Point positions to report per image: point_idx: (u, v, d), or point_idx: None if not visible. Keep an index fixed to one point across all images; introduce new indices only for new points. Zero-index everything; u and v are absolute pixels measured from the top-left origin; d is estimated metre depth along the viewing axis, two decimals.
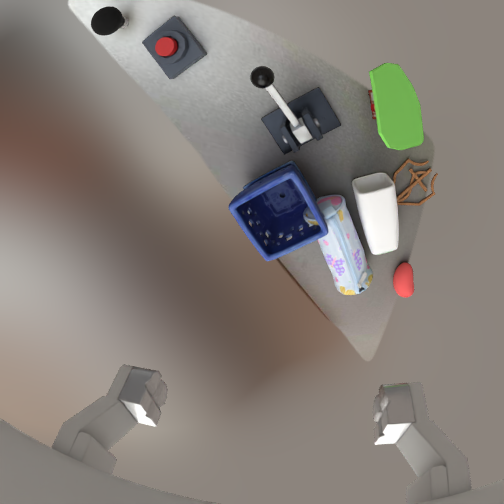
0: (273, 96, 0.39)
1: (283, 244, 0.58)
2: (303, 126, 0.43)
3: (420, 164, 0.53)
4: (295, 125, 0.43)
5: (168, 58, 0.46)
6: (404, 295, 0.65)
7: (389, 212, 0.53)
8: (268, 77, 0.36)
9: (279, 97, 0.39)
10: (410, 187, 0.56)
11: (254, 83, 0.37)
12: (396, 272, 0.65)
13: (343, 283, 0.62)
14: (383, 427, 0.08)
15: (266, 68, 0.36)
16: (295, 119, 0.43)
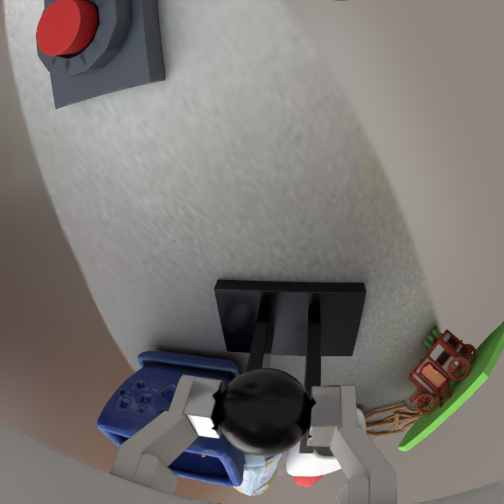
0: None
1: None
2: None
3: (413, 411, 0.33)
4: None
5: (60, 60, 0.13)
6: None
7: (336, 467, 0.31)
8: None
9: None
10: (381, 425, 0.36)
11: (224, 434, 0.09)
12: None
13: None
14: (309, 428, 0.09)
15: (299, 423, 0.09)
16: None
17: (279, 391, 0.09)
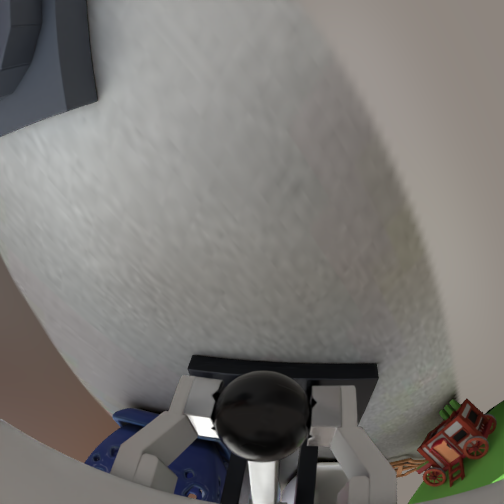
0: (254, 474, 0.10)
1: None
2: None
3: (419, 462, 0.27)
4: None
5: None
6: None
7: None
8: (283, 449, 0.08)
9: (269, 481, 0.10)
10: None
11: (218, 430, 0.08)
12: None
13: None
14: None
15: (301, 407, 0.08)
16: None
17: (281, 376, 0.09)
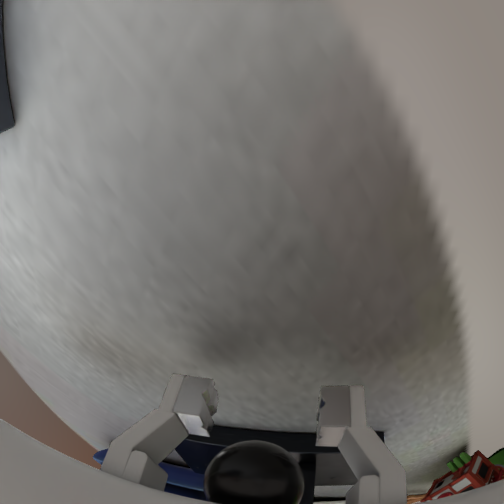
0: None
1: None
2: None
3: (420, 497, 0.23)
4: None
5: None
6: None
7: None
8: None
9: None
10: None
11: (207, 494, 0.07)
12: None
13: None
14: (318, 429, 0.09)
15: (293, 475, 0.07)
16: None
17: (274, 445, 0.08)
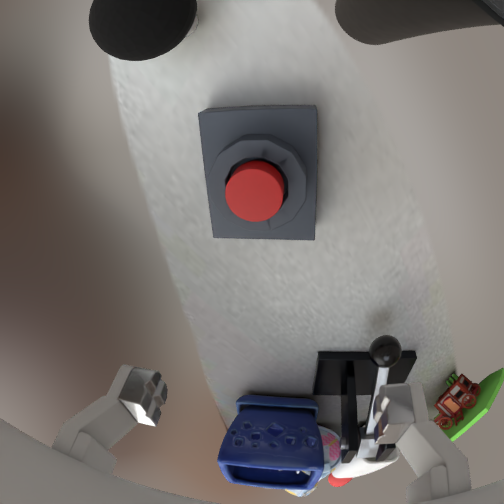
0: (378, 384, 0.26)
1: (254, 470, 0.39)
2: None
3: None
4: (369, 433, 0.27)
5: None
6: (335, 486, 0.55)
7: (375, 469, 0.40)
8: (397, 355, 0.25)
9: None
10: None
11: (375, 353, 0.26)
12: None
13: None
14: (384, 427, 0.08)
15: (399, 343, 0.26)
16: None
17: None
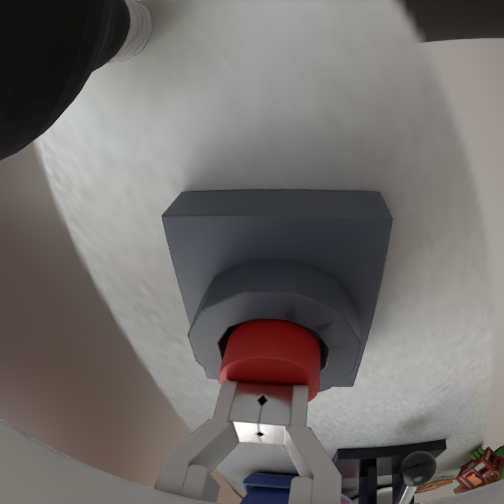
0: (404, 497, 0.17)
1: None
2: None
3: (447, 481, 0.33)
4: None
5: None
6: None
7: None
8: (430, 476, 0.16)
9: (408, 500, 0.17)
10: (420, 489, 0.36)
11: (406, 476, 0.17)
12: None
13: None
14: (259, 426, 0.09)
15: (434, 461, 0.17)
16: None
17: (425, 452, 0.18)
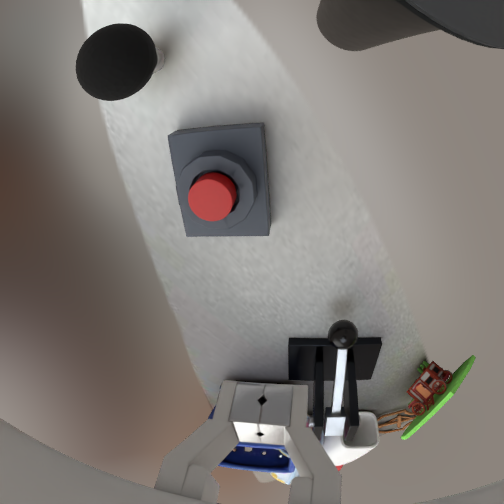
0: (338, 364, 0.31)
1: (240, 454, 0.44)
2: (343, 417, 0.30)
3: (411, 414, 0.46)
4: (334, 412, 0.31)
5: None
6: None
7: (357, 456, 0.44)
8: (352, 337, 0.30)
9: (343, 369, 0.31)
10: (387, 424, 0.49)
11: (332, 335, 0.30)
12: None
13: (278, 475, 0.51)
14: (259, 426, 0.09)
15: (355, 326, 0.31)
16: (339, 405, 0.31)
17: None
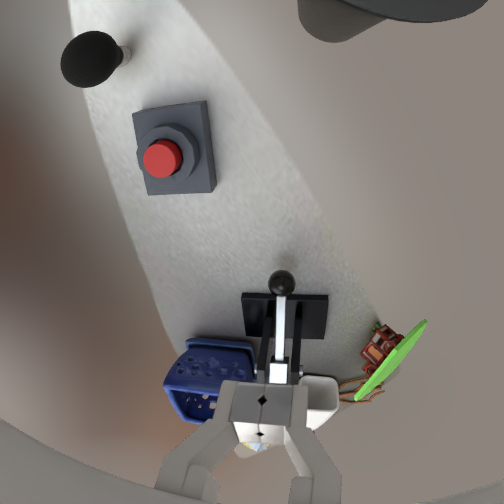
0: (278, 311, 0.36)
1: (205, 411, 0.50)
2: (285, 363, 0.36)
3: None
4: (277, 359, 0.37)
5: None
6: None
7: (318, 421, 0.50)
8: (288, 284, 0.35)
9: (283, 316, 0.36)
10: (352, 393, 0.54)
11: (270, 282, 0.36)
12: None
13: None
14: (259, 426, 0.09)
15: (292, 276, 0.36)
16: (282, 352, 0.37)
17: None
